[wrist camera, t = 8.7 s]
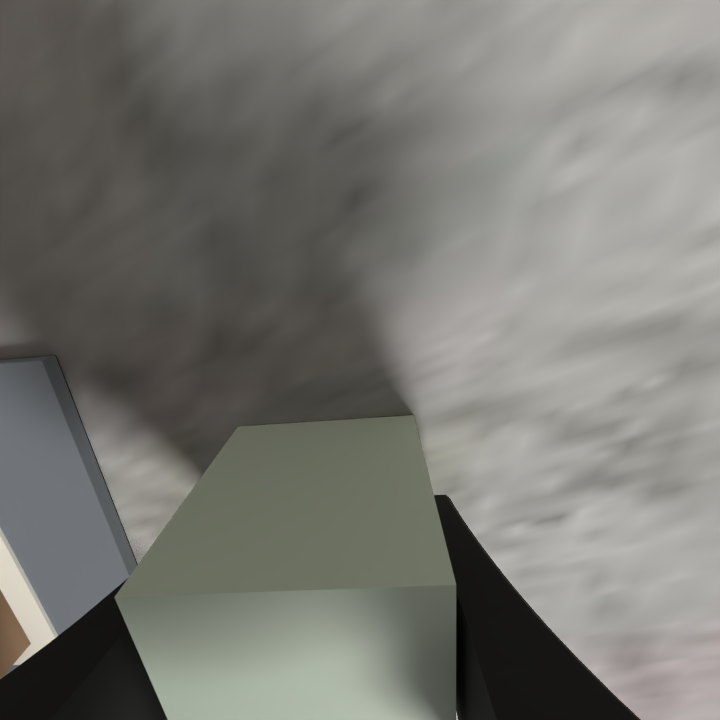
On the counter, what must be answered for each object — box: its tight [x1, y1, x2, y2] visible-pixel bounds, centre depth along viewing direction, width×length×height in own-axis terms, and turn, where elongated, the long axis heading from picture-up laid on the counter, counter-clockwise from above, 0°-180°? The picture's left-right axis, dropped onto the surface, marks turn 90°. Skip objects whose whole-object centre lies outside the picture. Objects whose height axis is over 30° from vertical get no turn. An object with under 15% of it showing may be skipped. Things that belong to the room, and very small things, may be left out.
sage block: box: [114, 415, 456, 720], centre depth 8 cm, size 5×5×5 cm
